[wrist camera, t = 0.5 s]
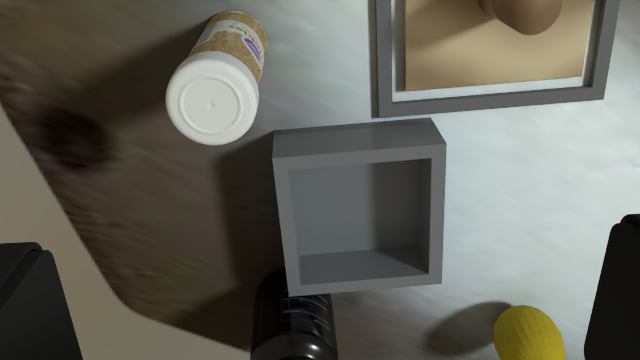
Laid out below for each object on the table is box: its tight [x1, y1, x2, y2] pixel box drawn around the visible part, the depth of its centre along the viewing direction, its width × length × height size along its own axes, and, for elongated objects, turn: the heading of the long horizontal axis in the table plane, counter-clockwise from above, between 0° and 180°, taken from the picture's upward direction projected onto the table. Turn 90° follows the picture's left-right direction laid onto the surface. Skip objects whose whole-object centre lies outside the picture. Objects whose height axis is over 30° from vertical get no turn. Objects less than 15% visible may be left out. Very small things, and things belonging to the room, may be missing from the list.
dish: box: [272, 118, 446, 297], centre depth 43 cm, size 12×12×5 cm
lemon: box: [493, 305, 565, 360], centre depth 49 cm, size 6×6×8 cm
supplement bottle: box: [250, 269, 338, 360], centre depth 45 cm, size 7×7×12 cm
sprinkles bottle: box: [166, 10, 267, 145], centre depth 34 cm, size 5×5×14 cm
